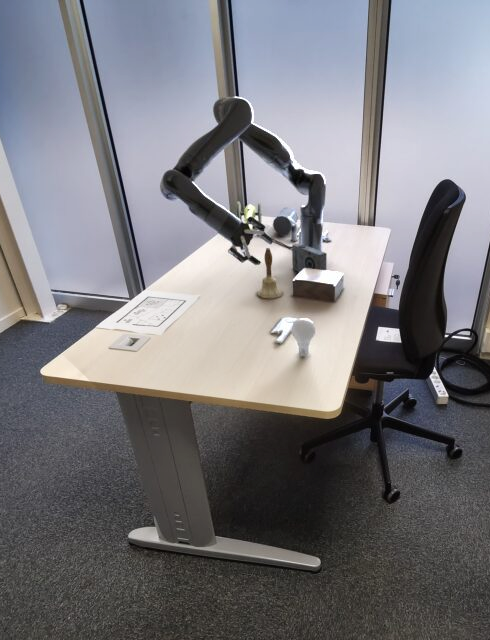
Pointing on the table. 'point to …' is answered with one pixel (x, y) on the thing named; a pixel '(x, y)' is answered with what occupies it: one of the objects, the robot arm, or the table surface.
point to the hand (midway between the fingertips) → (265, 253)
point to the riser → (318, 284)
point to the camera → (307, 258)
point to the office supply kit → (289, 224)
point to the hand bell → (269, 280)
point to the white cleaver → (284, 328)
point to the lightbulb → (303, 334)
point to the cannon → (249, 212)
